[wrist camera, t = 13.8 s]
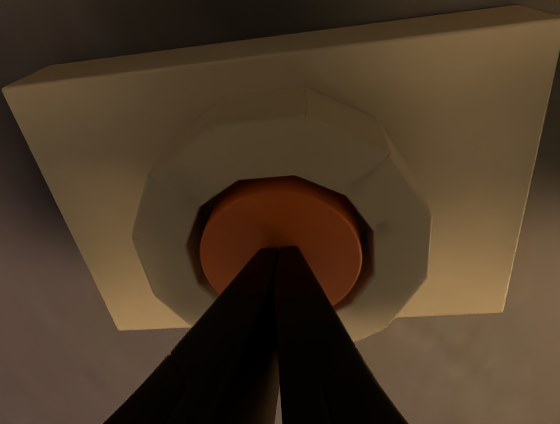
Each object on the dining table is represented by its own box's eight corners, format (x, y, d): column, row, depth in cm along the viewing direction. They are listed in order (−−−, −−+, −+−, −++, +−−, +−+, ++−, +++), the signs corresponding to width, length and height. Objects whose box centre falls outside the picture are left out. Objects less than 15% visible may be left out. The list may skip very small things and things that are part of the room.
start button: (352, 147, 9) (359, 184, 8) (357, 268, 11) (364, 316, 10) (199, 162, 10) (180, 200, 8) (229, 276, 12) (217, 323, 10)
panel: (519, 3, 10) (629, 33, 6) (478, 265, 14) (531, 365, 11) (49, 64, 11) (-62, 115, 8) (140, 285, 15) (93, 379, 12)
